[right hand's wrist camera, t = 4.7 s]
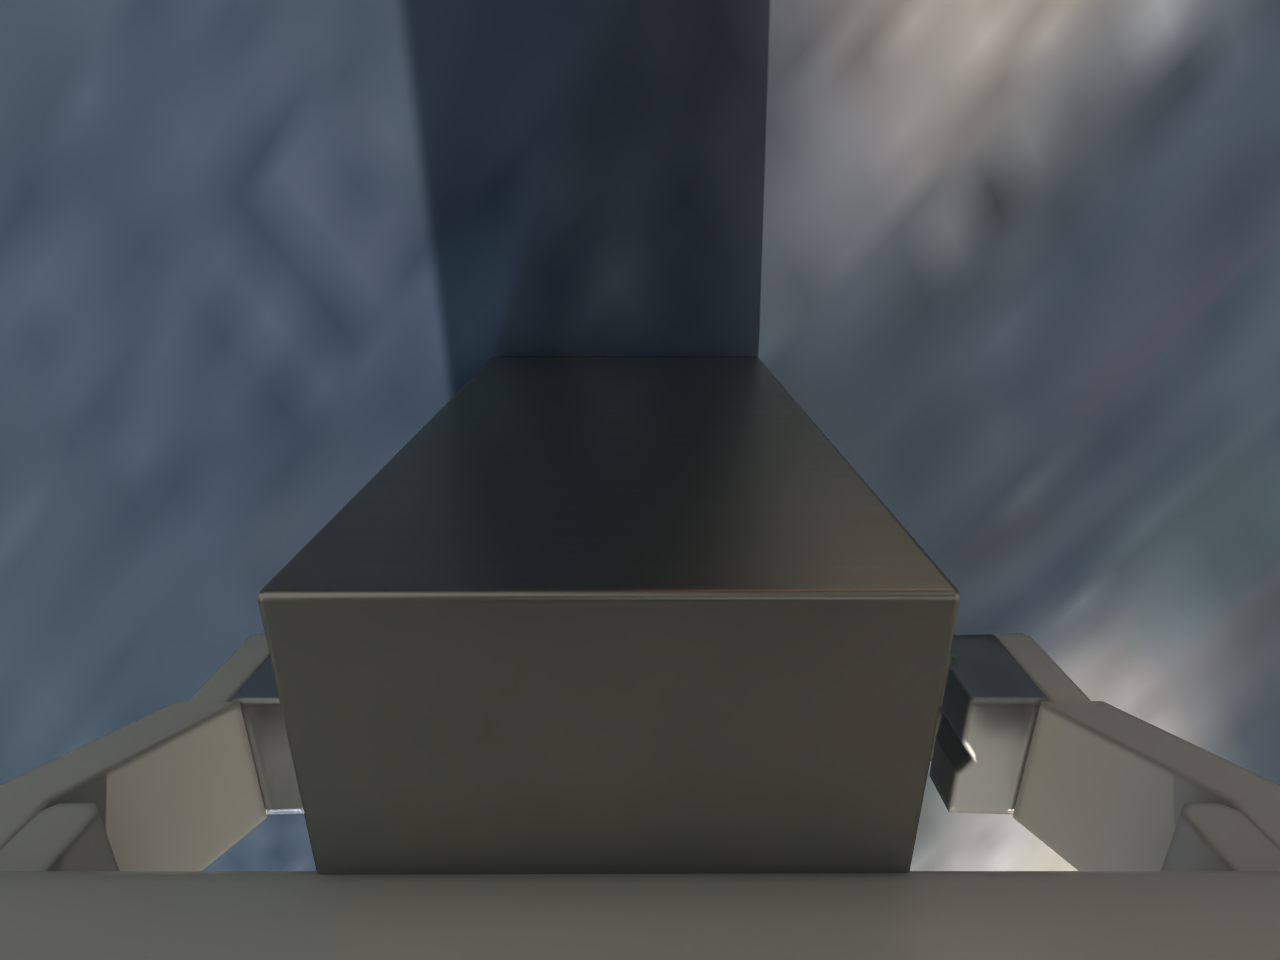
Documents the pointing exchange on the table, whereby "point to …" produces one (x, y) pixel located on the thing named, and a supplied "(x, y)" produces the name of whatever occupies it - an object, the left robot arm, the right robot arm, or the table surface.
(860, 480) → the bar
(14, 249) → the table surface
